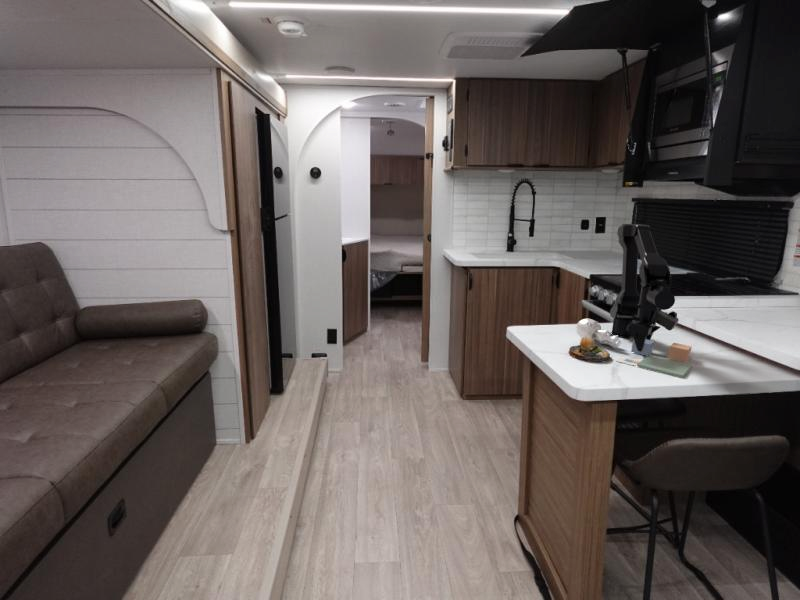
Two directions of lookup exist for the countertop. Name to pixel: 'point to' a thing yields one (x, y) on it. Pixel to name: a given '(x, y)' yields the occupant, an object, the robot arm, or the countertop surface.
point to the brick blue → (644, 348)
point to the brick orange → (679, 352)
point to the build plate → (665, 366)
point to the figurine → (596, 333)
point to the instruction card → (629, 361)
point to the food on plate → (589, 351)
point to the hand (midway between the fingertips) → (642, 349)
